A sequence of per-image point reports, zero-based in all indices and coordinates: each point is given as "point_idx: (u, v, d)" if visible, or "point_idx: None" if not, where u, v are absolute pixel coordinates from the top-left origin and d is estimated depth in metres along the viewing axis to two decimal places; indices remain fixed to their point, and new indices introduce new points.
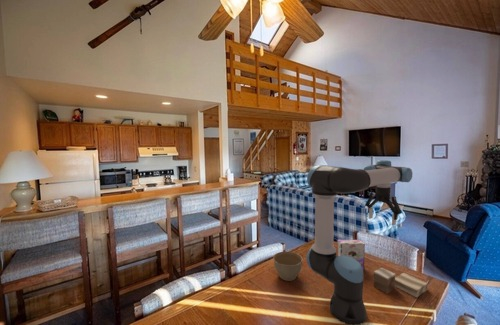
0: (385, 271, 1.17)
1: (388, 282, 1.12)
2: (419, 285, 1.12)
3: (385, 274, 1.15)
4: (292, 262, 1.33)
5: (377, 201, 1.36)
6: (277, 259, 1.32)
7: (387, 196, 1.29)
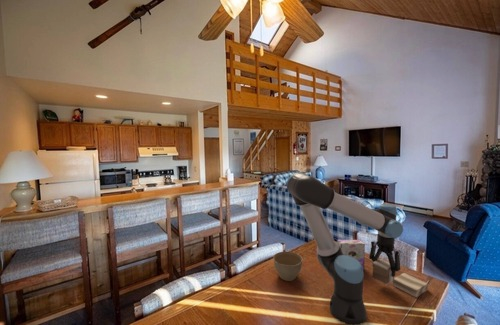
0: (384, 262, 1.17)
1: (387, 272, 1.11)
2: (419, 285, 1.12)
3: (384, 265, 1.14)
4: (292, 262, 1.33)
5: (381, 252, 1.17)
6: (277, 259, 1.32)
7: (391, 248, 1.11)
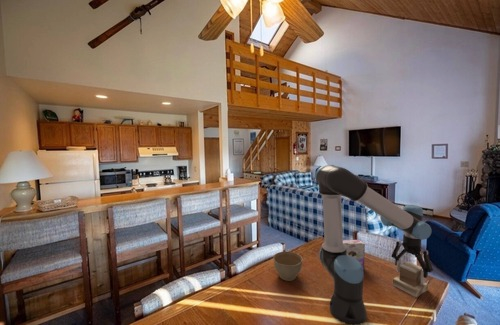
0: (411, 265, 1.16)
1: (416, 275, 1.11)
2: (419, 286, 1.12)
3: (412, 268, 1.14)
4: (292, 262, 1.33)
5: (405, 252, 1.18)
6: (277, 259, 1.32)
7: (418, 248, 1.11)
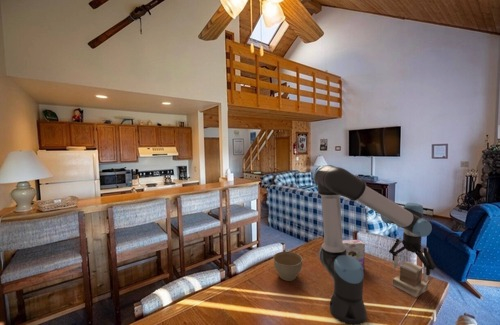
0: (411, 265, 1.16)
1: (416, 275, 1.11)
2: (418, 286, 1.12)
3: (412, 267, 1.14)
4: (292, 262, 1.33)
5: None
6: (277, 259, 1.32)
7: (418, 246, 1.11)
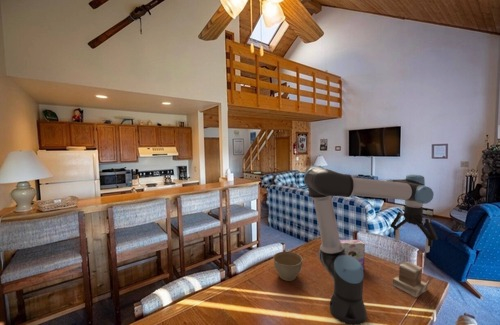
0: (411, 265, 1.16)
1: (415, 275, 1.11)
2: (418, 285, 1.12)
3: (411, 268, 1.14)
4: (292, 262, 1.33)
5: (405, 222, 1.17)
6: (277, 259, 1.32)
7: (419, 217, 1.10)
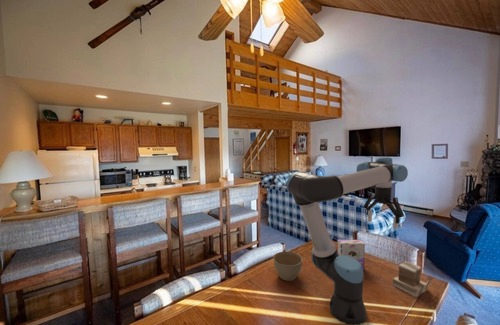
0: (410, 264, 1.16)
1: (415, 275, 1.11)
2: (419, 285, 1.12)
3: (411, 267, 1.14)
4: (292, 262, 1.33)
5: None
6: (277, 259, 1.32)
7: (388, 197, 1.16)
